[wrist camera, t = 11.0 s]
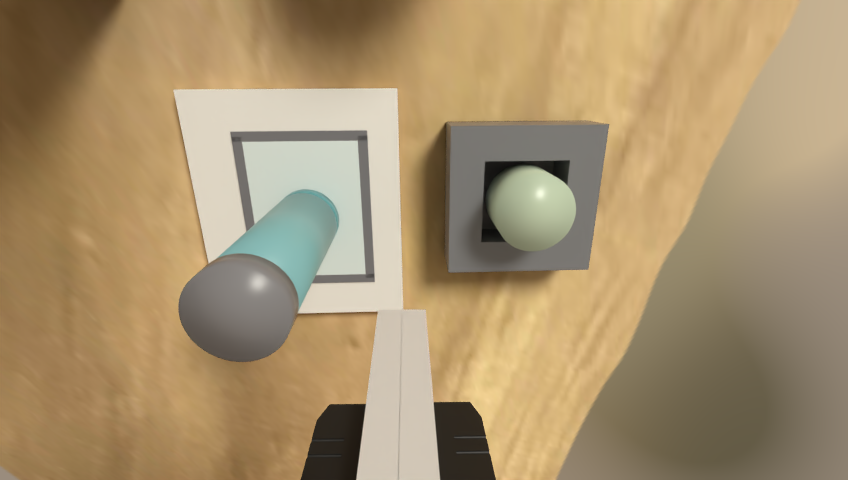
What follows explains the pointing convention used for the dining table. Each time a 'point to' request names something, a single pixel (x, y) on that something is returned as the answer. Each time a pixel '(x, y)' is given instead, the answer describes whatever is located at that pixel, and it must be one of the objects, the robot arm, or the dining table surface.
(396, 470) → the robot arm
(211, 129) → the picture board
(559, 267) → the button housing
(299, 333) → the dining table surface
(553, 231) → the button
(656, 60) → the dining table surface
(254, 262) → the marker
